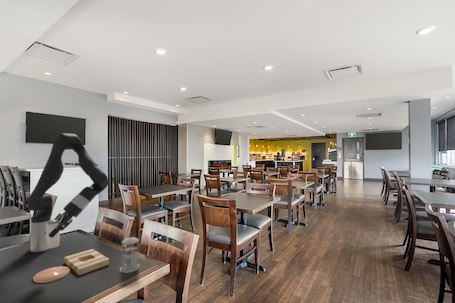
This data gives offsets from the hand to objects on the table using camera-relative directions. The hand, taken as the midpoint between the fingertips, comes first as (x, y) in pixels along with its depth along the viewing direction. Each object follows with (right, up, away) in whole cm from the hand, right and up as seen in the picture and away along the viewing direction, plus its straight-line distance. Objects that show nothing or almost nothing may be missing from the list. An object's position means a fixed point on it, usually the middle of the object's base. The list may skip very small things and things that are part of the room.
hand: (48, 235), depth 111 cm
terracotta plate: (+1, -19, +1) cm, 19 cm away
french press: (+34, -20, +9) cm, 41 cm away
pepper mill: (+1, -6, +1) cm, 6 cm away
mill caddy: (+10, -20, +13) cm, 26 cm away
